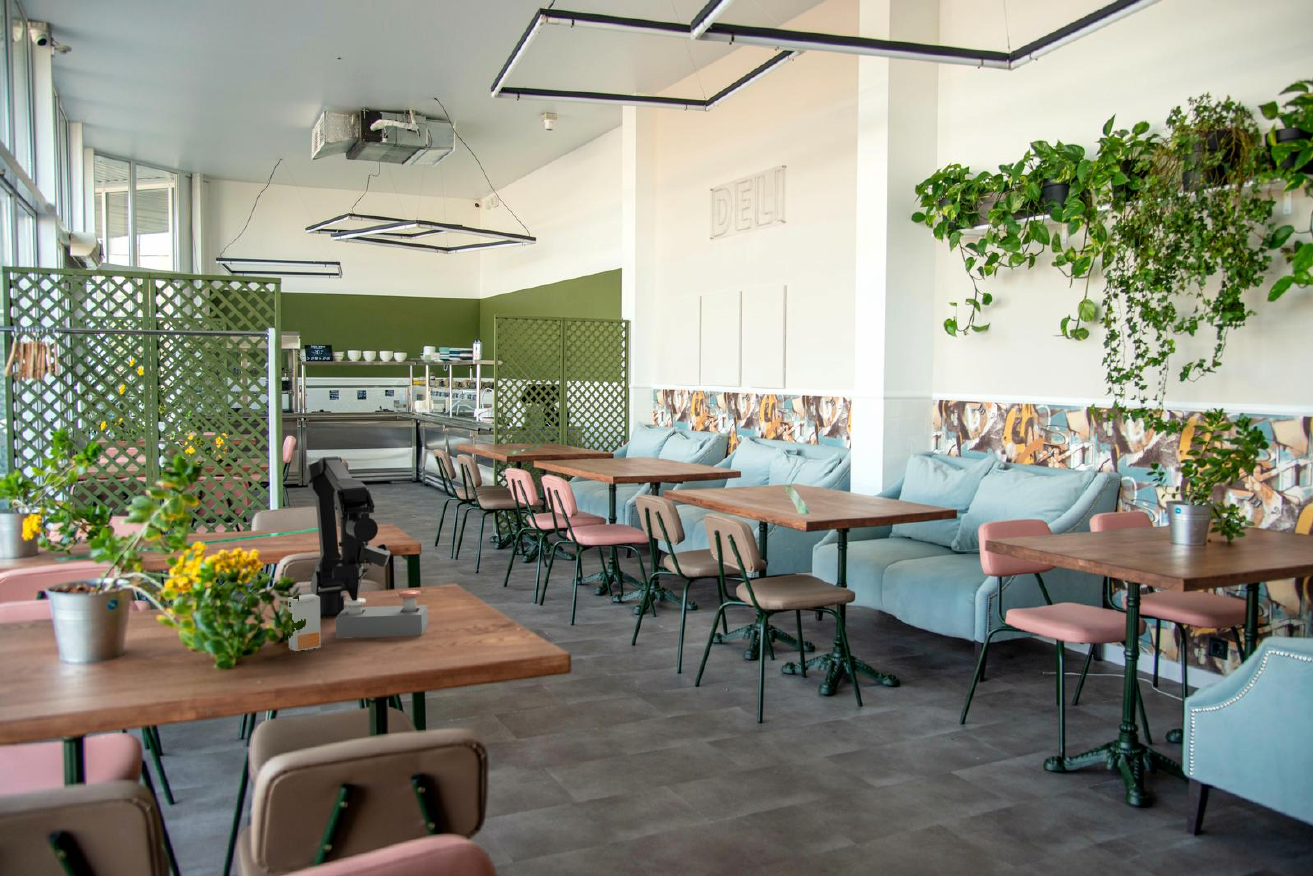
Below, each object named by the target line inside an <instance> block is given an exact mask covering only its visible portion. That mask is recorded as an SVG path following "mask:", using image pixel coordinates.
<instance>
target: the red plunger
mask: <svg viewBox="0 0 1313 876" xmlns="http://www.w3.org/2000/svg"><path fill="white" fill-rule="evenodd" d="M420 596H421V591H420V590H414V589H411V590H410V589H409V590H403V591H399V592H398V597H399V598H402V606H403V613H404V612H417V605H418V604H417V598H418V597H420Z"/></svg>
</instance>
